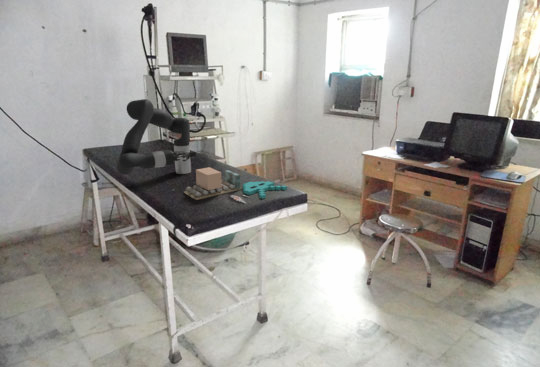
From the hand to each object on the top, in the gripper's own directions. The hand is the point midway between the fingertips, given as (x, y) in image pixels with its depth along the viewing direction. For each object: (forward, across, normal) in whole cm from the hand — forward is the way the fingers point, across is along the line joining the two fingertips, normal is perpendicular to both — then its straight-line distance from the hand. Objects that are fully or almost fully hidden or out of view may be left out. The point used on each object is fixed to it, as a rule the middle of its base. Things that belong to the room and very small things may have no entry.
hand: (195, 153), depth 182 cm
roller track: (+10, 0, +22) cm, 24 cm away
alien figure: (+31, -13, +22) cm, 40 cm away
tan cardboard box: (+7, 0, +18) cm, 19 cm away
